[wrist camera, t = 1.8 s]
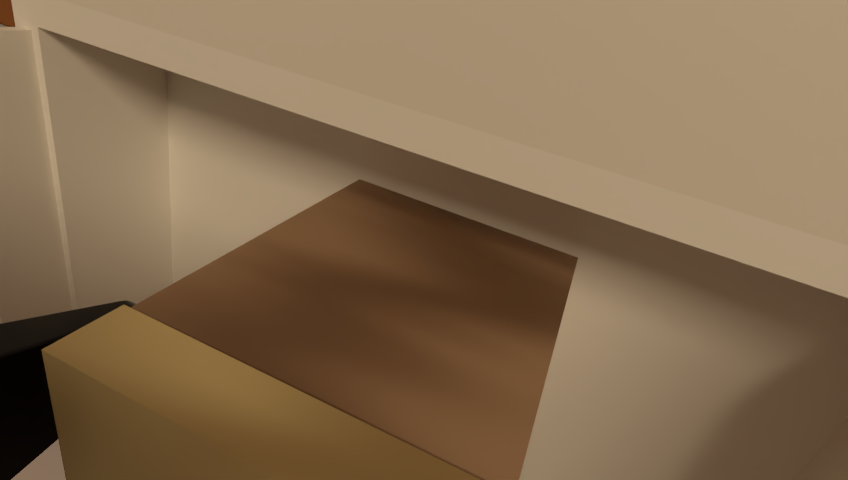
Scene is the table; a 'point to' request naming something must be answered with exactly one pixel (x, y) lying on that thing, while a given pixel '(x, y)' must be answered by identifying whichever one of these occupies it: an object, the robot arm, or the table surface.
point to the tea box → (323, 354)
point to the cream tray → (480, 186)
